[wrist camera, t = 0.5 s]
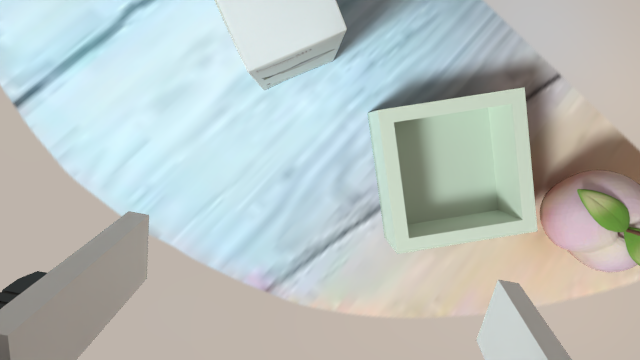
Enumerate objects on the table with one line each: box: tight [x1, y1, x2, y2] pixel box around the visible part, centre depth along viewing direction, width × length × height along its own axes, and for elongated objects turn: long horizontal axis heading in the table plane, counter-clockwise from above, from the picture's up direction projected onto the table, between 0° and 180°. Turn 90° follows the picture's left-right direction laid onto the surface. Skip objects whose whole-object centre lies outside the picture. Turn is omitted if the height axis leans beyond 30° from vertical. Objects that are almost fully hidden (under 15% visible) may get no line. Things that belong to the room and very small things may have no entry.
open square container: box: [368, 87, 537, 254], centre depth 38 cm, size 12×12×6 cm
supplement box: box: [215, 0, 347, 90], centre depth 32 cm, size 7×7×13 cm
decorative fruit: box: [540, 170, 640, 272], centre depth 36 cm, size 9×8×10 cm
